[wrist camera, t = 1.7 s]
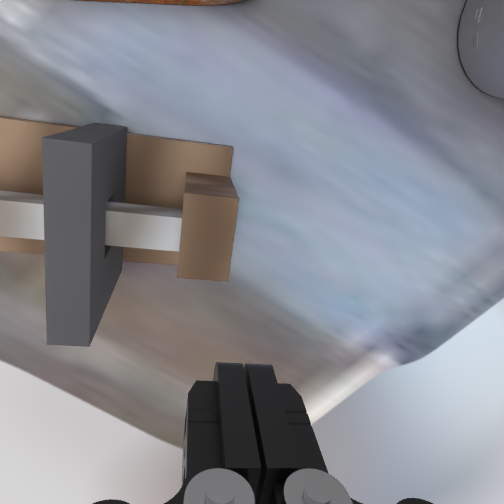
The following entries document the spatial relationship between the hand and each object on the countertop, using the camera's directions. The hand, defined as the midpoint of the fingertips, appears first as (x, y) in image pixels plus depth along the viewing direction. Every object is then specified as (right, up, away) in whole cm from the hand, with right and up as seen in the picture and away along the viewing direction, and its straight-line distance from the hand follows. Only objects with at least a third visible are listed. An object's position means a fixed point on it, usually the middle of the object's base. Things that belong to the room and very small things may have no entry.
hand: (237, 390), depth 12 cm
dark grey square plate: (-9, +7, +17) cm, 21 cm away
